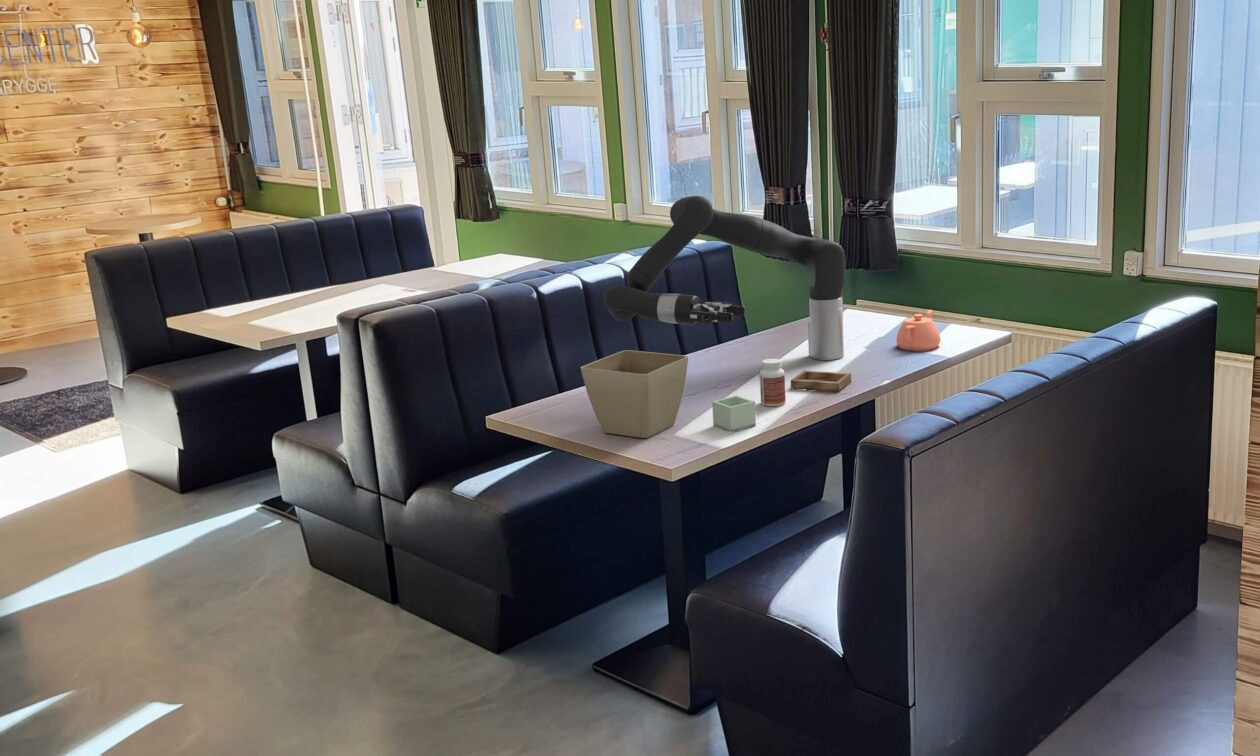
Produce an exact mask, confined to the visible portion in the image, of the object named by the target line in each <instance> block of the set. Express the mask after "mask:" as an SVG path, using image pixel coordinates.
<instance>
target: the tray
mask: <svg viewBox="0 0 1260 756" xmlns="http://www.w3.org/2000/svg"><path fill="white" fill-rule="evenodd" d="M851 383H852V373H849V372H834V371H817V370H805V369H804V370H802V371H801V372H800V373H798V374H797V375H796V376H794V377H793V378H792V379H790V389H791V388H793V389H792V390H796V389H806V390H805V391H810V390H816V391H815V392H826V393H840V392H842V391H843V390H844V389H845V388H847V386H849V385H851Z"/></svg>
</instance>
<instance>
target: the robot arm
mask: <svg viewBox="0 0 1260 756" xmlns="http://www.w3.org/2000/svg"><path fill="white" fill-rule="evenodd" d="M669 218H670V220H671V222H672V223H673V225H672V226H671V227H670V229H668V231H667V232H666V233H665V234H664V235H663V236H662V237H661V238H659V240H658V241H656V242H655V243H654V244H653V245H652V246H650V247H649V248H648V249H647V250H646V251H645V252H644V253H643V254H642V255H641V256H640V257H639V258H638V260H637V261H636V263H635V264H633V266H632V268H630V269H629V271H628V272H627V275H626V285H621V284H619V285H613V286H610V287H609V288H608V289H607V290H606V291H605V292H604V293H603V303H604V305H605V307H606V309H607V310H608V312H609V314H610V315H611V316H612V318H613V319H614V320H615V321H617V322H620V323H624V322H628V321H630V320H631V319H633V318H634V317H635V316H636V315H638V316H639V317H640V318H642V319H643V320H647V321H657V322H664V323H667V324H677V325H679V324H680V325H687V326H695V325H696V324H697V323H708V324H712V323H713V322H714V323H716V322H722V323H723V322H725V323H732V322H733V321H734V316H744V315H745V314H746V307H745V306H742V305H732V302H726V301H725V302H724V301H712V300H711V301H708V302H707V301H706V302H704V304H703V303H701V300H700V298H699V297H698V296H697V295H694V294H692V295H691V294H682V293H657V292H649V290H650V289H651V287H653V285H654V284H655V283H656V281H657V280H658V279H659V278H660V276H661V275H662V274H663V273H664V271H665V270H666V269H667V268H668V267H669V265H670V264H671V263H672V262H673V261H674V259H675V258H676V257H677V256H678V255H679V254H680V253H681V252H682V251H683V250H684V249H685V248H686V247H687V246H688V244H689V243H691V242H692V241H693V240H694V239H695V238H696V237H697V236H698V235H703V236H707V237H712V238H714V239H718V240H720V241H723V242H724V243H727V244H730V245H731V246H735V247H737V248H740V249H744V250H746V251H749V252H753V253H754V254H758V255H759V254H760V255H762V256H768V257H773V258H781V259H786V260H790V261H792V262H794V263H796V264H798V265H801V266H803V267H805V268H807V269H809V270H812V271H814V284H813V285H812V286H810V287H809V288H808V299H809V300H808V303H809V322H808V323H807V341H808V342H807V343H808V345H807V346H808V356H810V357H811V358H812V359H814V360H817V361H832V360H838V359H841V358H844V356H845V352H844V351H845V350H844V345H845V344H844V310H843V292H844V289H845V283H846V254H845V251H844V248H843V247H842V245H840V243H838V242H836V241H833V240H829V239H823V238H815V237H811V236H806V235H801V234H797V233H794V232H792V231H789V230H788V229H786V228H785V227H784V226H781V225H779V224H777V223H776V222H775V223H774V222H772V221H770V220H766V219H763V218H760V217H756V216H753V215H747V214H742V213H733V212H726V211H720V210H717V209H714V206H713V204H712V202H711V200H709V199H708V198H707V197H704V196H702V195H691V196H685V197H682V198H680V199H678V200H676V201H675V202H674V203H673V204H672V206H671V207H670V210H669ZM724 308H726V309H724Z"/></svg>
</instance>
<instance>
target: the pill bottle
mask: <svg viewBox="0 0 1260 756" xmlns="http://www.w3.org/2000/svg"><path fill="white" fill-rule="evenodd" d="M761 364H762V365H761V366H762V369H761V370H760V372H759V385H760V386H759V389H760V391H759V392H760V403H761V405H763V406H764V405H765V407H780V406H783V405H785V403H786V402H787V401H786V381H785V380H786V378H785V376H786V375H785V370H784V369H783V368H781V367H782V359H779V358H766V359H763V360H762V361H761Z"/></svg>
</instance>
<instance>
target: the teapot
mask: <svg viewBox="0 0 1260 756" xmlns="http://www.w3.org/2000/svg"><path fill="white" fill-rule="evenodd" d="M932 312H933V310H932V309H929V310H927V312H926V314H925V317H923V316H924V315H923V314H921V313H916V314H913V316H912V317H908V318H905V319H904V320H903V321H902V323H901V325H900V326H899V329H898V331H897V334H896V339H895V340H896V345H897V346H898V347H899V348H900V349H901V348H902V349H901V350H904V349H905V351H909V350H913V351H912V352H926V351H925V350H928V351H931V350H930V349H932V350H935V349H936V348H937V347H938V346H939V344H940V343H941V336H940V331H939V329H938V327H937V324H936V323H935V322H934V320H933V318H932ZM934 348H935V349H934Z"/></svg>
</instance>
